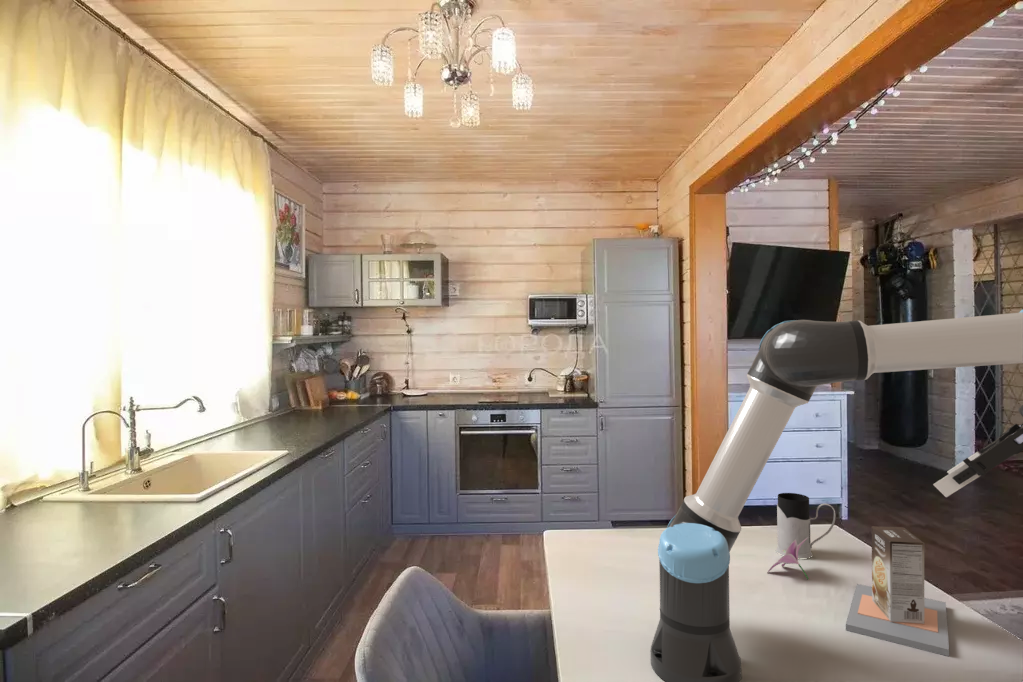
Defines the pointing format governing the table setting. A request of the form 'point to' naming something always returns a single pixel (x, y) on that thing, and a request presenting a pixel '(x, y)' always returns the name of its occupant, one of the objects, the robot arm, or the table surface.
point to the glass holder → (795, 523)
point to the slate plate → (899, 623)
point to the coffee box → (898, 574)
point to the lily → (790, 556)
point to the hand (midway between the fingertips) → (946, 483)
